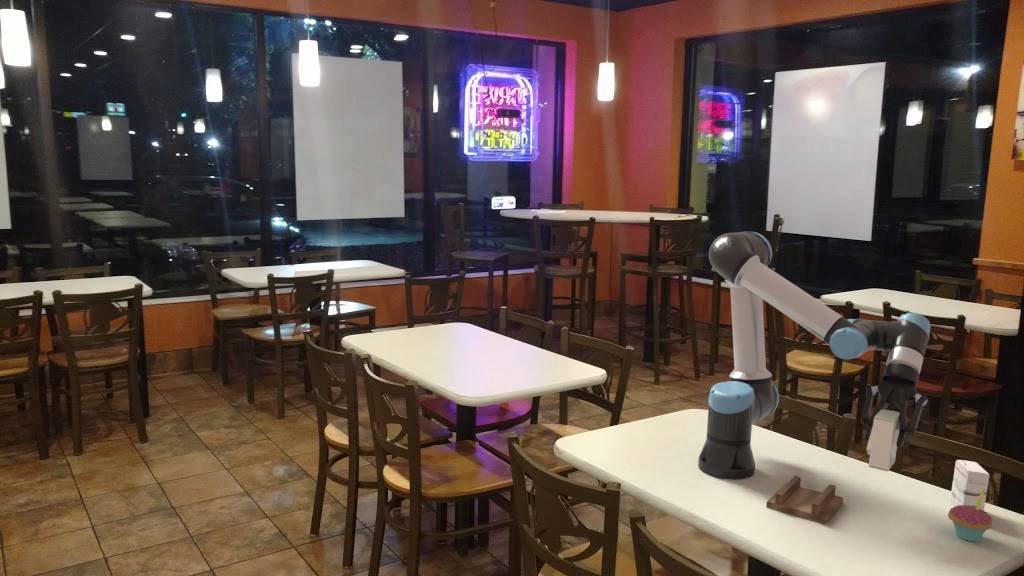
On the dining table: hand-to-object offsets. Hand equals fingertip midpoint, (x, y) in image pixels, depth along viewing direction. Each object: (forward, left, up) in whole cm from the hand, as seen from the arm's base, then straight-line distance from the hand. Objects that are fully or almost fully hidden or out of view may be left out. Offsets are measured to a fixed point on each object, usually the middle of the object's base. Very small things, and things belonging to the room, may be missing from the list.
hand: (880, 454), depth 173 cm
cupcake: (+18, +10, -18) cm, 27 cm away
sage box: (0, +4, -4) cm, 5 cm away
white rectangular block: (+16, +25, -18) cm, 35 cm away
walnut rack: (-16, +3, -18) cm, 24 cm away
